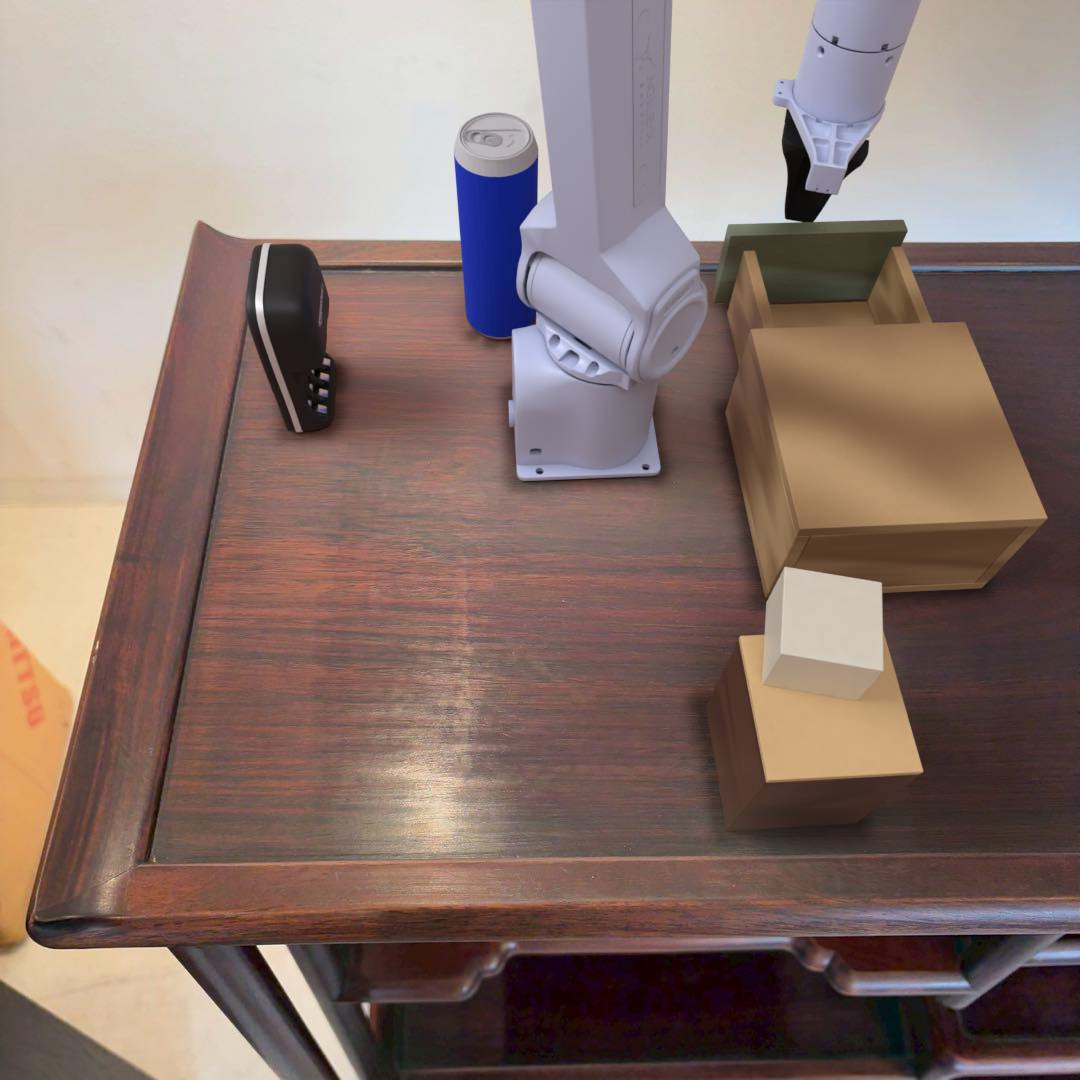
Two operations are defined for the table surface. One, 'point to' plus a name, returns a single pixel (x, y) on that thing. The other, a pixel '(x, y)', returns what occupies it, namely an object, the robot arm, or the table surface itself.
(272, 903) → the table surface
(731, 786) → the stand
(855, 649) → the block
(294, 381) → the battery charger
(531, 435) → the robot arm
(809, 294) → the drawer
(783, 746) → the coaster
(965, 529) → the cabinet
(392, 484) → the table surface
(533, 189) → the beverage can
